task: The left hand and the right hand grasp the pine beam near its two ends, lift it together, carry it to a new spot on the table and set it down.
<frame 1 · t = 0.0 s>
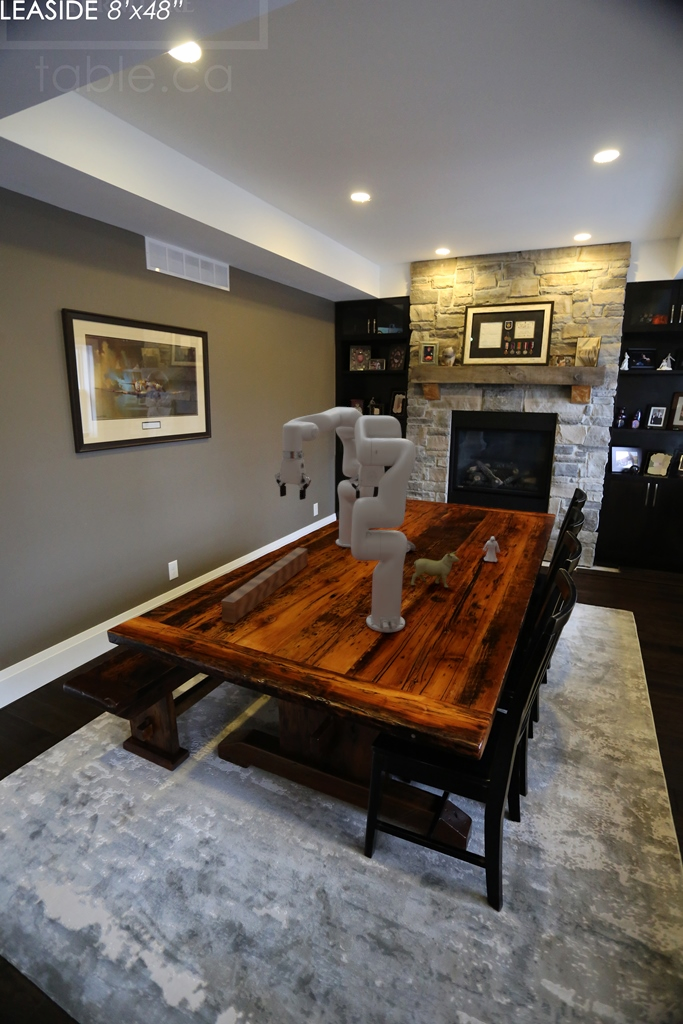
left hand: (292, 497, 200), 31 cm above the table, tool pointing down, fingers open, 9 cm apart
right hand: (370, 500, 199), 31 cm above the table, tool pointing down, fingers open, 9 cm apart
toy: (433, 586, 195), on the table
figurine: (490, 560, 225), on the table
beam: (270, 588, 189), on the table
seashell: (406, 551, 235), on the table
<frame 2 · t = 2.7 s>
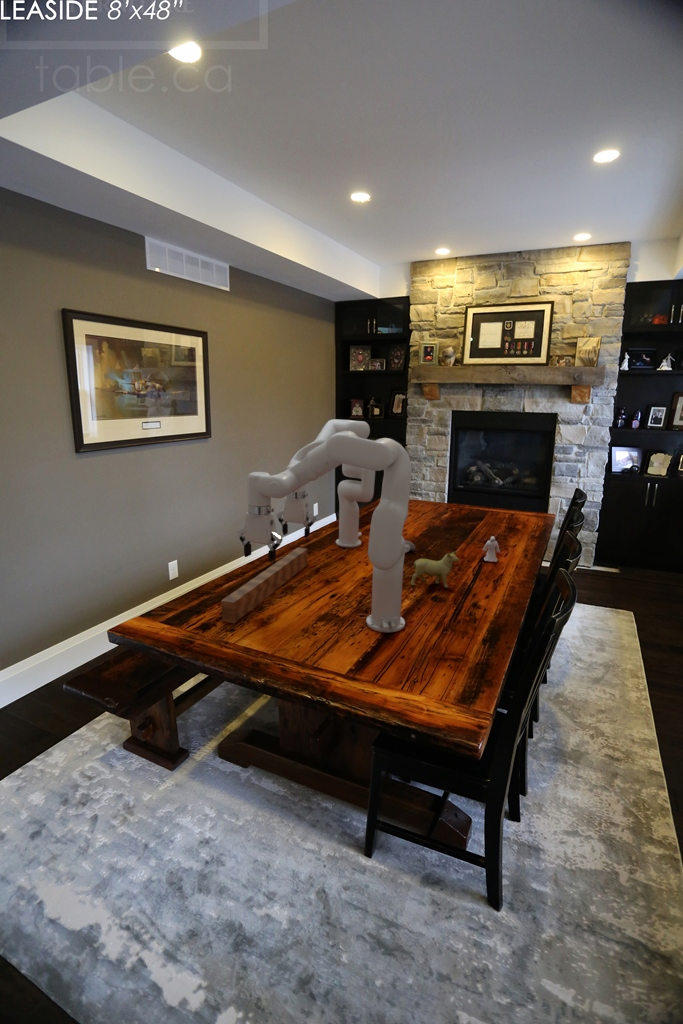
left hand: (296, 535, 206), 15 cm above the table, tool pointing down, fingers open, 9 cm apart
right hand: (259, 558, 170), 18 cm above the table, tool pointing down, fingers open, 9 cm apart
nothing on the table moved.
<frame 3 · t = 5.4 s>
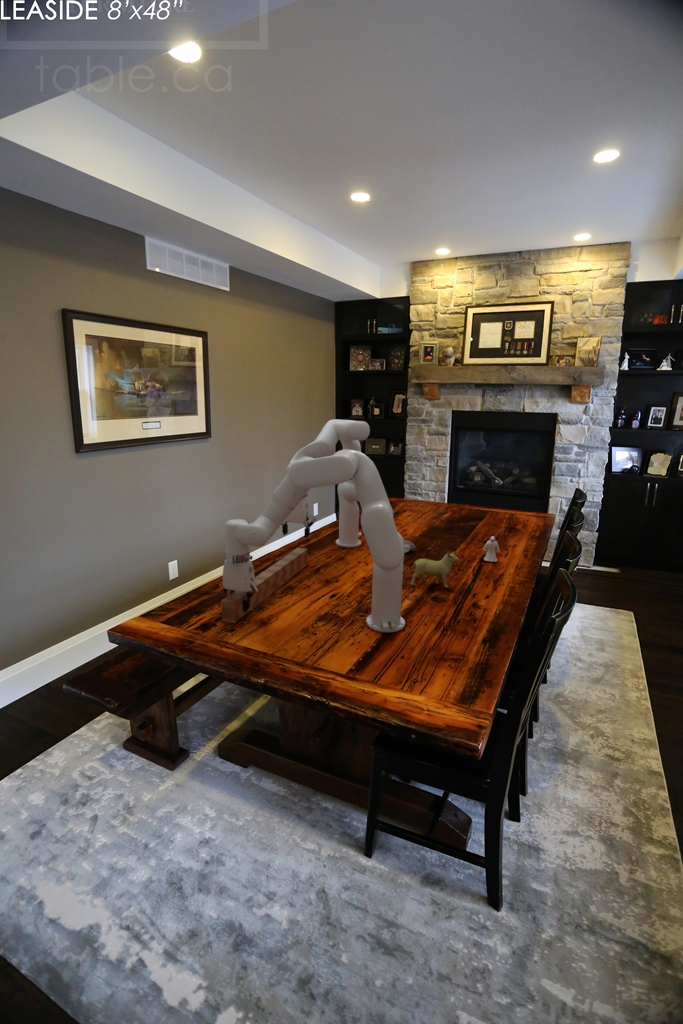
left hand: (296, 535, 206), 15 cm above the table, tool pointing down, fingers open, 9 cm apart
right hand: (239, 608, 168), 2 cm above the table, tool pointing down, fingers closed on beam, 4 cm apart
beam: (270, 588, 189), on the table, touching right hand
everything else where it was.
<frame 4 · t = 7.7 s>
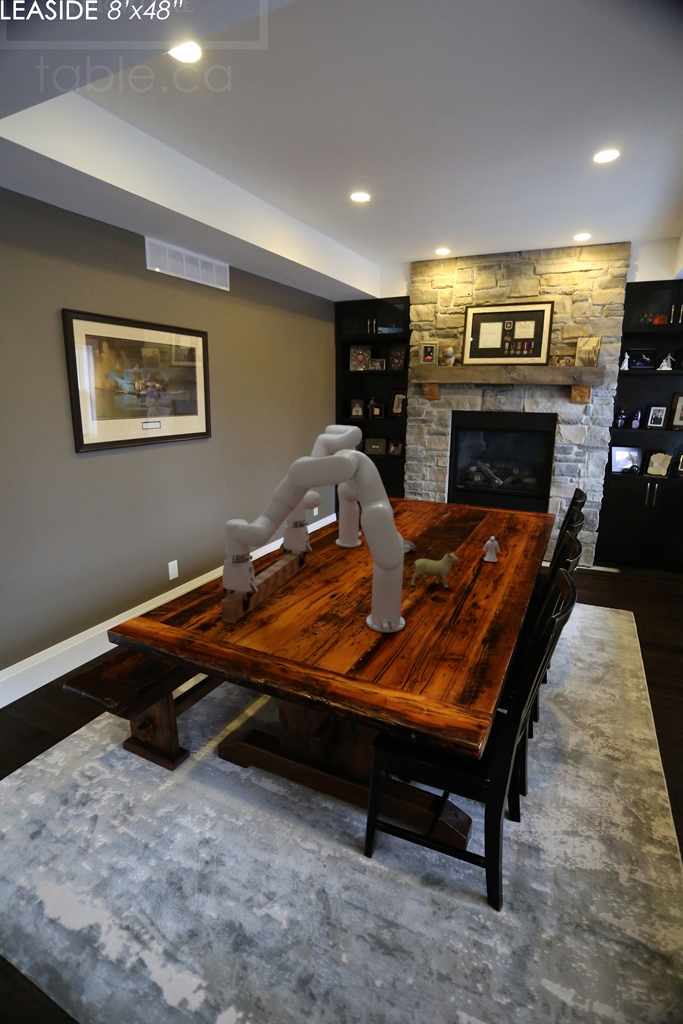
left hand: (296, 564, 209), 2 cm above the table, tool pointing down, fingers closed on beam, 4 cm apart
right hand: (239, 608, 168), 2 cm above the table, tool pointing down, fingers closed on beam, 4 cm apart
beam: (270, 588, 189), on the table, touching right hand, left hand
everything else where it was.
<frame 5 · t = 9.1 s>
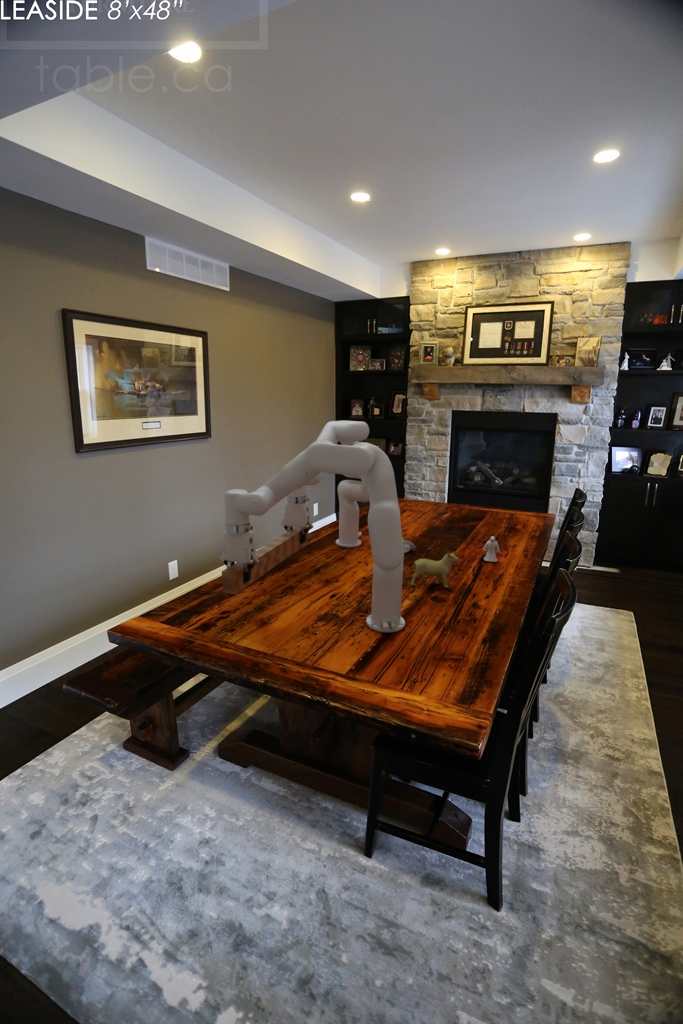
left hand: (297, 541, 207), 12 cm above the table, tool pointing down, fingers closed on beam, 4 cm apart
right hand: (239, 580, 165), 12 cm above the table, tool pointing down, fingers closed on beam, 4 cm apart
beam: (271, 563, 187), point 10 cm above the table, touching right hand, left hand
everything else where it was.
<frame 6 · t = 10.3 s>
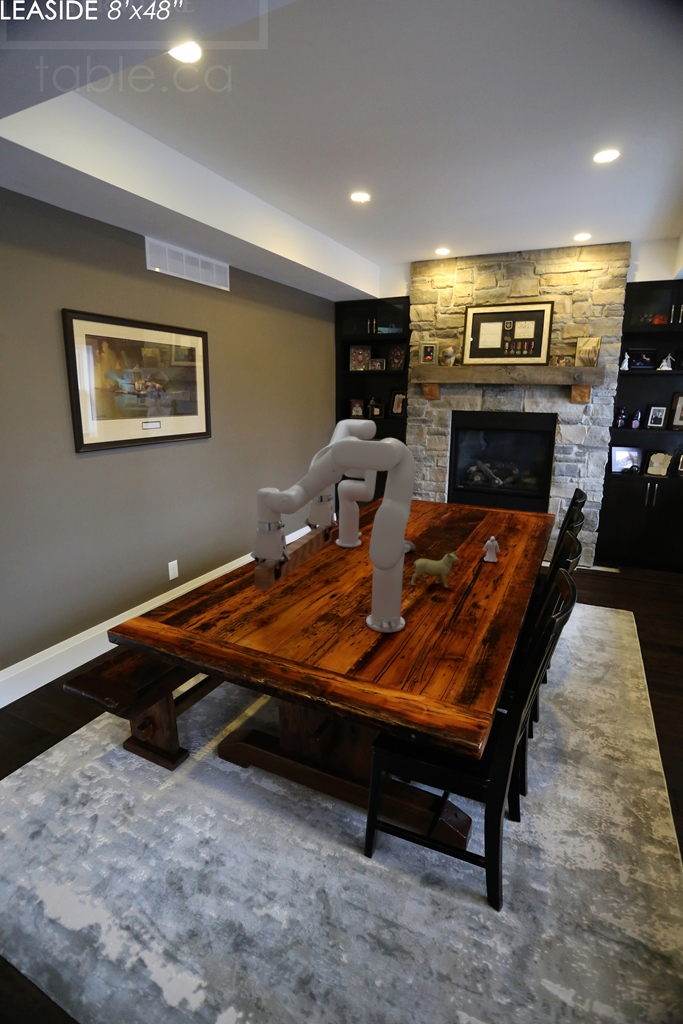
left hand: (320, 539, 210), 12 cm above the table, tool pointing down, fingers closed on beam, 4 cm apart
right hand: (270, 576, 169), 12 cm above the table, tool pointing down, fingers closed on beam, 4 cm apart
beam: (298, 561, 190), point 10 cm above the table, touching right hand, left hand
everything else where it was.
when the left hand's fingers open (4 cm above the table, at t = 13.0 s): beam drops 2 cm, on the table.
when the right hand's fingers open (4 cm above the table, at t = 13.0 s): beam drops 2 cm, on the table.
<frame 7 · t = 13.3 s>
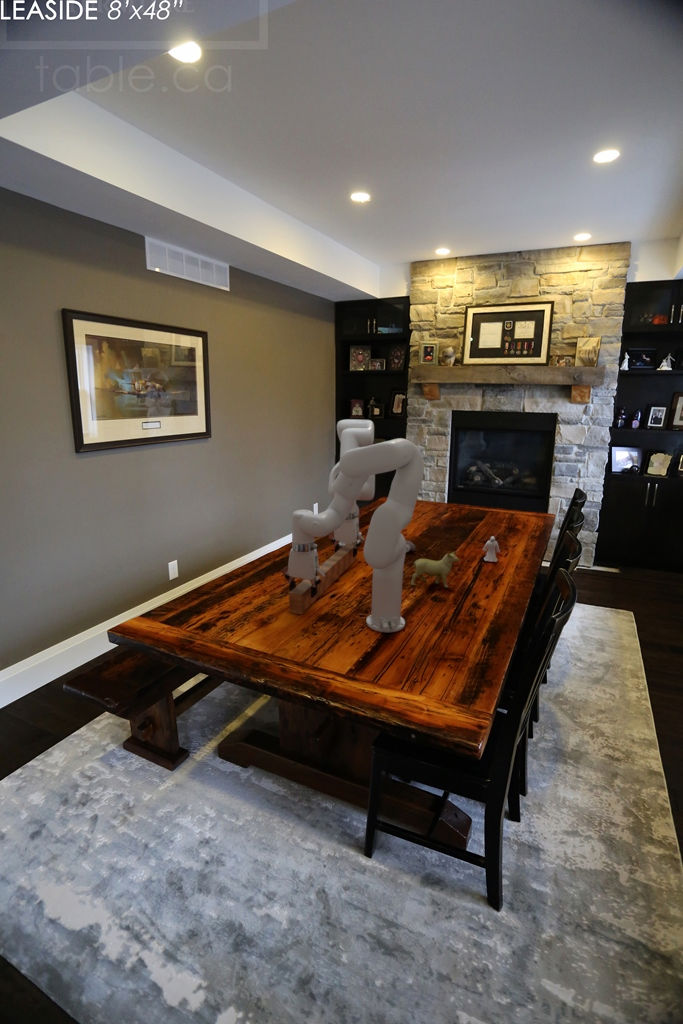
left hand: (345, 555, 216), 4 cm above the table, tool pointing down, fingers open, 7 cm apart
right hand: (303, 594, 174), 4 cm above the table, tool pointing down, fingers open, 7 cm apart
beam: (327, 582, 196), on the table
everything else where it was.
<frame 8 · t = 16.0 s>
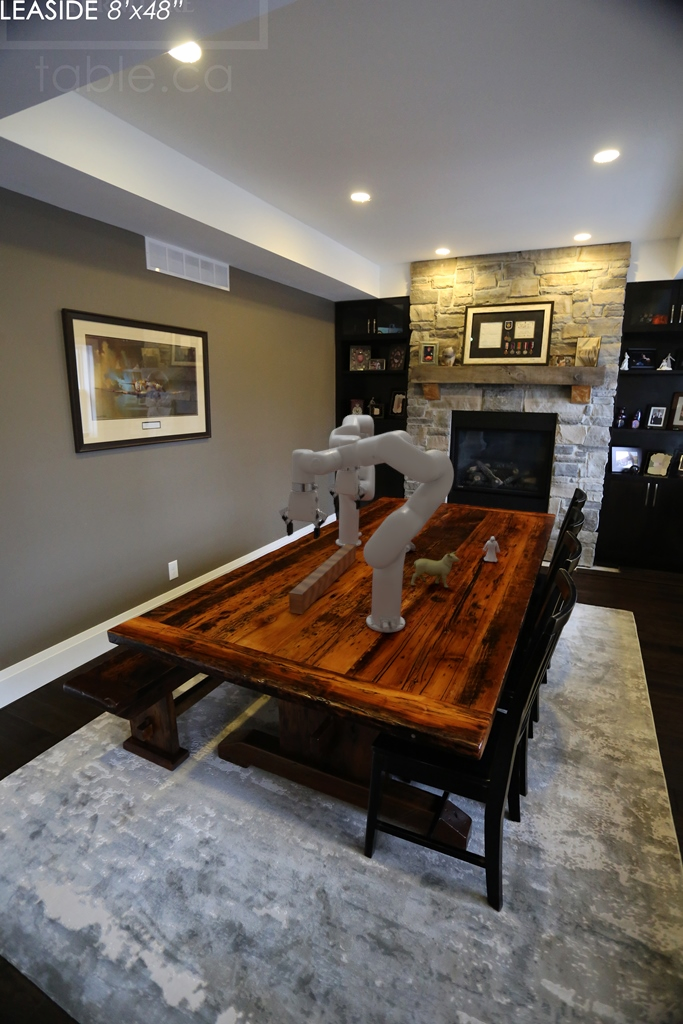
left hand: (347, 507, 211), 25 cm above the table, tool pointing down, fingers open, 9 cm apart
right hand: (303, 536, 169), 25 cm above the table, tool pointing down, fingers open, 9 cm apart
nothing on the table moved.
at the end: beam inside the target area (0.1 cm from its centre), on the table; beam tilted 0°; beam never tilted more than 1° during the clip; both hands held the beam at the same time; the left hand is holding nothing; the right hand is holding nothing; beam at rest at the end (0.0 cm/s) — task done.
